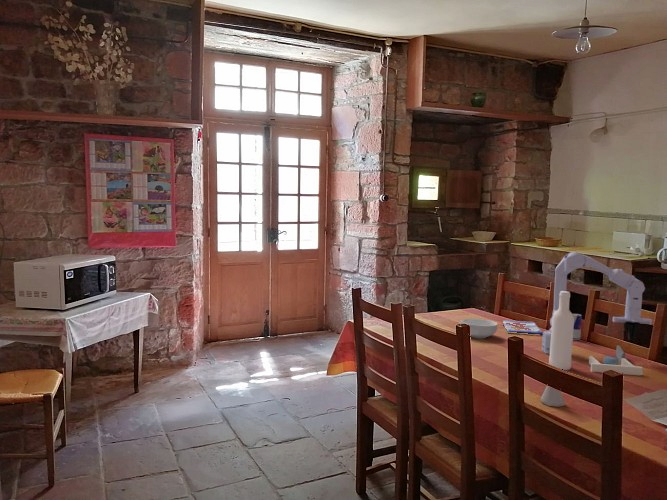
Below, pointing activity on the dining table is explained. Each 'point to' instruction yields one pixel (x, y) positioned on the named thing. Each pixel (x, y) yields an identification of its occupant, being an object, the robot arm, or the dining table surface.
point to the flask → (552, 397)
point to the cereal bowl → (480, 327)
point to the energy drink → (577, 326)
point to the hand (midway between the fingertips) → (630, 340)
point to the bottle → (562, 334)
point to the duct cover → (619, 353)
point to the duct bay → (615, 367)
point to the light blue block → (610, 360)
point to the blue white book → (529, 325)
